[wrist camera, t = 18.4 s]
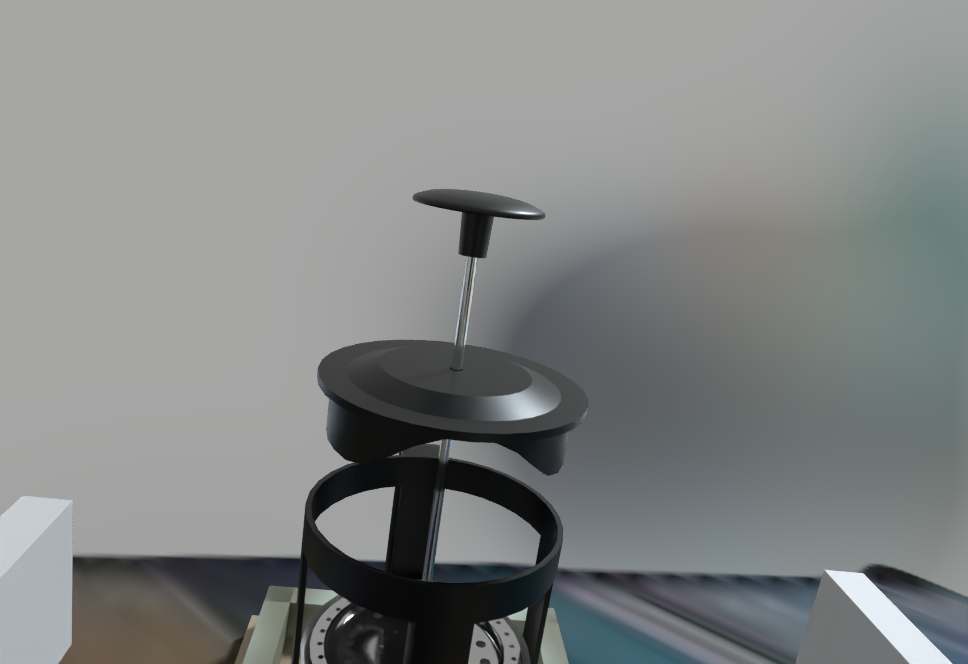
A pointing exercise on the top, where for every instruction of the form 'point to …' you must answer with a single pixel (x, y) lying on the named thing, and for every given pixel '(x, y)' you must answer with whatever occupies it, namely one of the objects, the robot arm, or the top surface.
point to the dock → (273, 629)
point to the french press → (435, 483)
